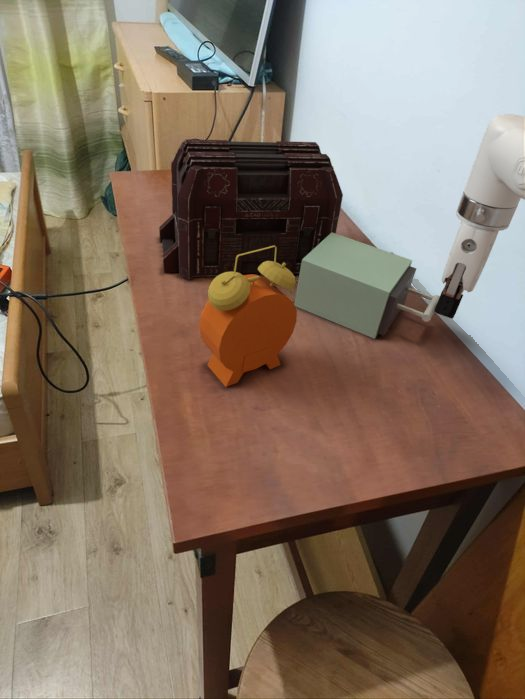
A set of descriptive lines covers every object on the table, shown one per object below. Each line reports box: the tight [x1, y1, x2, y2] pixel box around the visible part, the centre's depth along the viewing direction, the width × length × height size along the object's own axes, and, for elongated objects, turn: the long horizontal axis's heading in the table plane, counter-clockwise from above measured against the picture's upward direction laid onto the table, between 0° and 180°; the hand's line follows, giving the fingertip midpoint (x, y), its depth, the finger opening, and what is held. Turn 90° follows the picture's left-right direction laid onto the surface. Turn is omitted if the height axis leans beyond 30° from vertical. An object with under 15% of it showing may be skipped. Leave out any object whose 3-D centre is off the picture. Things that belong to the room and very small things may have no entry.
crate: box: [158, 138, 344, 280], centre depth 97 cm, size 35×19×21 cm, turn 102°
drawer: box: [378, 265, 440, 336], centre depth 89 cm, size 20×11×8 cm, turn 60°
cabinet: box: [294, 232, 413, 339], centre depth 90 cm, size 16×13×10 cm
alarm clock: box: [198, 246, 298, 388], centre depth 72 cm, size 13×6×20 cm, turn 125°
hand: (444, 313), depth 85 cm, fingers closed
